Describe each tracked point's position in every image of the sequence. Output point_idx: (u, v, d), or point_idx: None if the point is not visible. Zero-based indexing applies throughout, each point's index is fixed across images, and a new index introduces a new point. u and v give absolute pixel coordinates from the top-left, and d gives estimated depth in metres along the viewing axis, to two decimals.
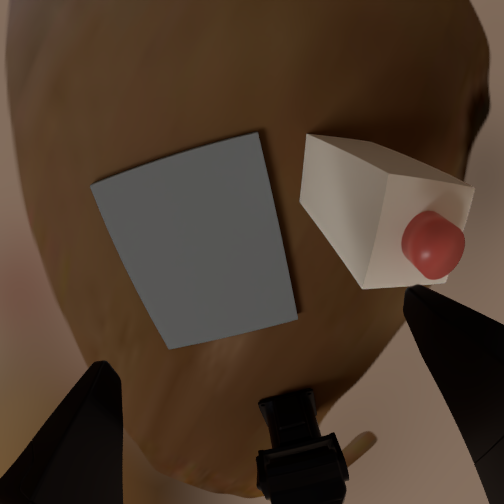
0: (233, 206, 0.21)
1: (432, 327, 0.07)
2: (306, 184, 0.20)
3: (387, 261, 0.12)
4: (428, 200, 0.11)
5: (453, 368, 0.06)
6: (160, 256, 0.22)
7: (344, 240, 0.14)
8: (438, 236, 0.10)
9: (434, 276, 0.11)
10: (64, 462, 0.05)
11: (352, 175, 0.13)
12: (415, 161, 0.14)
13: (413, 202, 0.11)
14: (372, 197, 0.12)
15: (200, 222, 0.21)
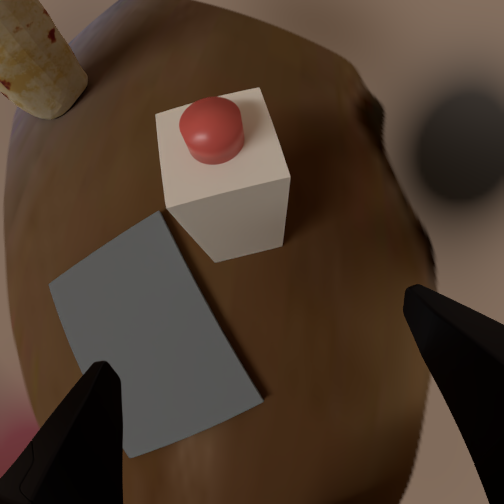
0: (152, 279, 0.22)
1: (432, 327, 0.07)
2: None
3: (182, 173, 0.12)
4: None
5: (453, 368, 0.06)
6: (101, 342, 0.21)
7: None
8: (192, 110, 0.11)
9: (212, 140, 0.11)
10: (64, 462, 0.05)
11: None
12: None
13: None
14: None
15: (127, 301, 0.22)
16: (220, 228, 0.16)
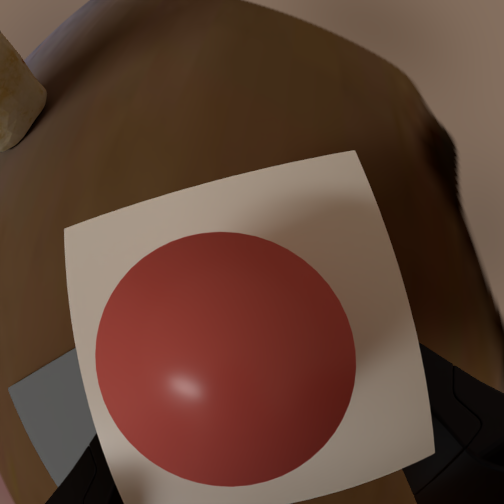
0: None
1: None
2: None
3: None
4: None
5: None
6: None
7: None
8: (139, 301, 0.03)
9: (236, 472, 0.02)
10: None
11: None
12: None
13: None
14: None
15: None
16: None
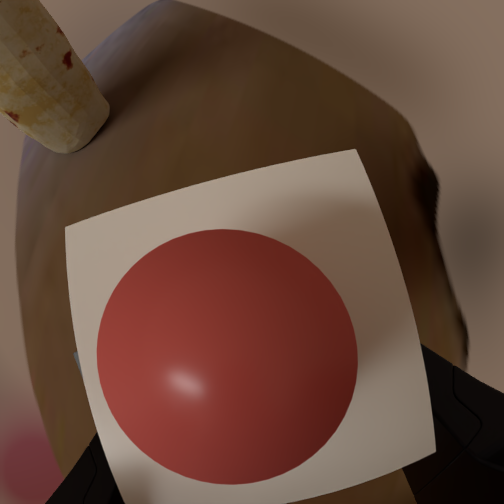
0: None
1: None
2: None
3: None
4: None
5: None
6: None
7: None
8: (141, 298, 0.03)
9: (238, 470, 0.02)
10: None
11: None
12: None
13: None
14: None
15: None
16: None
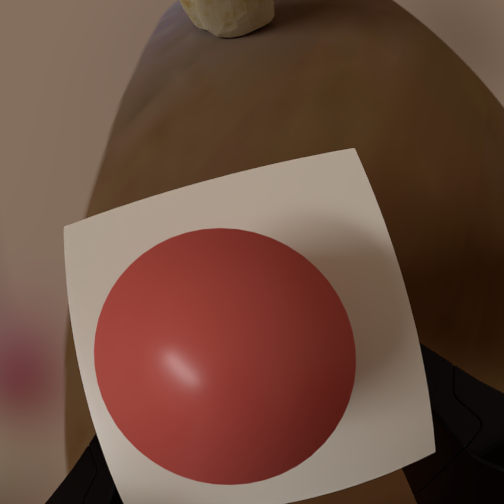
0: None
1: None
2: None
3: None
4: None
5: None
6: None
7: None
8: (138, 297, 0.03)
9: (235, 471, 0.02)
10: None
11: None
12: None
13: None
14: None
15: None
16: None
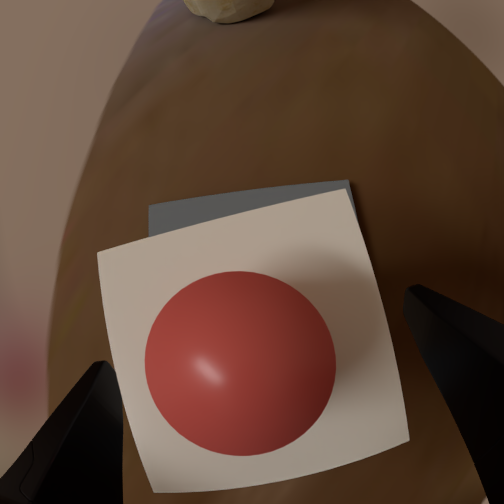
0: None
1: (432, 327, 0.07)
2: None
3: (175, 433, 0.05)
4: (209, 269, 0.05)
5: (453, 368, 0.06)
6: None
7: None
8: (179, 321, 0.04)
9: (251, 444, 0.03)
10: (64, 462, 0.05)
11: None
12: None
13: (170, 287, 0.05)
14: None
15: None
16: None
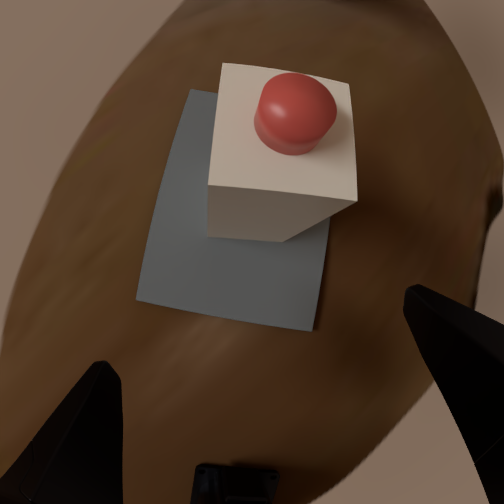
0: None
1: (432, 327, 0.07)
2: None
3: (239, 148, 0.10)
4: None
5: (453, 368, 0.06)
6: (208, 174, 0.21)
7: None
8: (281, 81, 0.09)
9: (298, 130, 0.08)
10: (64, 462, 0.05)
11: None
12: None
13: (260, 87, 0.10)
14: None
15: None
16: (243, 215, 0.14)
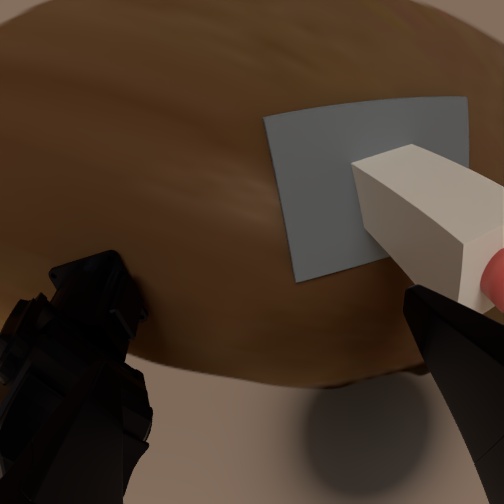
0: None
1: (432, 327, 0.07)
2: (380, 160, 0.18)
3: (484, 250, 0.10)
4: None
5: (453, 368, 0.06)
6: (403, 142, 0.18)
7: (442, 207, 0.11)
8: None
9: (503, 299, 0.09)
10: (64, 462, 0.05)
11: (481, 185, 0.12)
12: None
13: None
14: None
15: None
16: (412, 230, 0.13)
